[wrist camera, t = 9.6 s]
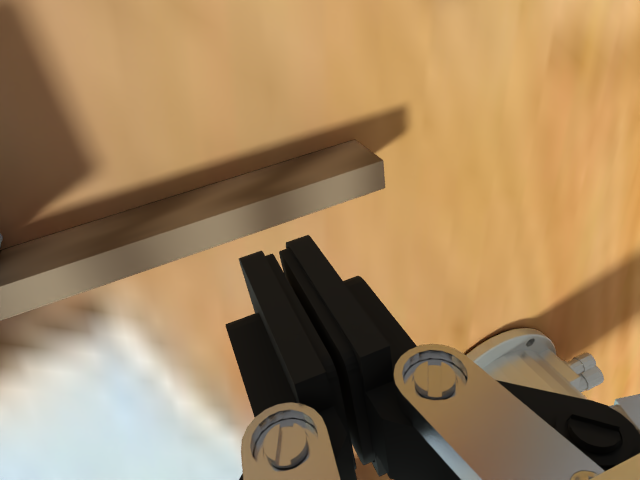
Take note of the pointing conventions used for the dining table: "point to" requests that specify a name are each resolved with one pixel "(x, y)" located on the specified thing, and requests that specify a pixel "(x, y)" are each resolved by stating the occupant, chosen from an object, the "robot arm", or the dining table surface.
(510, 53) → the dining table surface
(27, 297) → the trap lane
